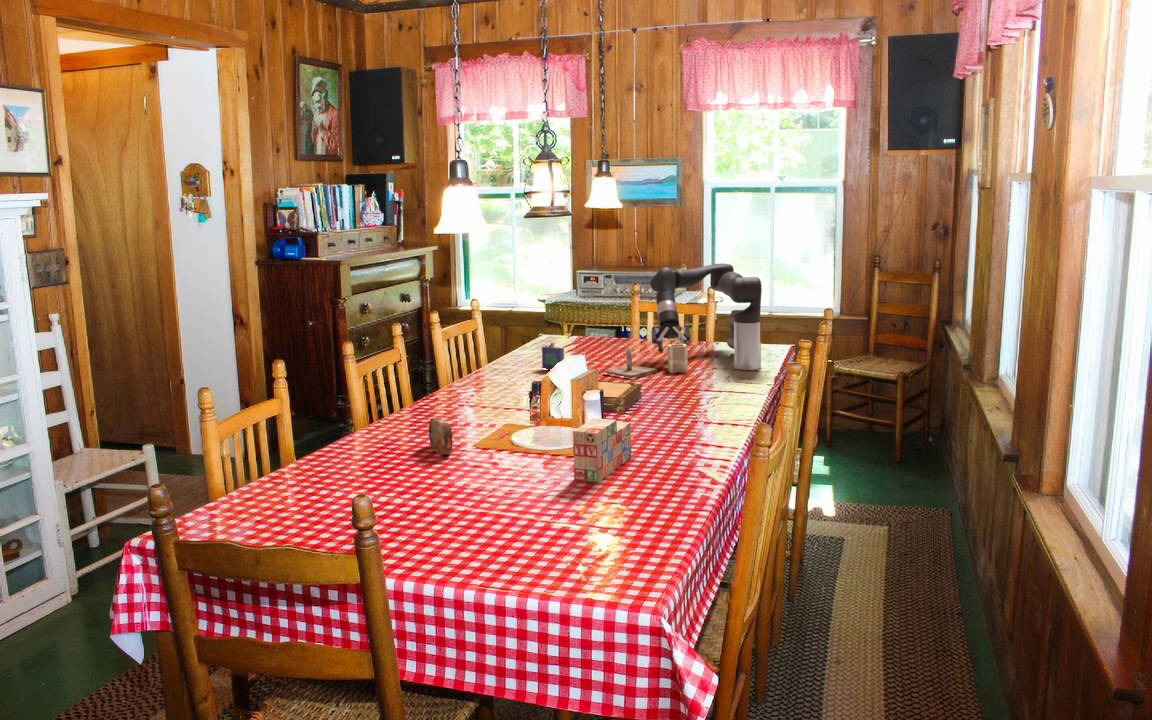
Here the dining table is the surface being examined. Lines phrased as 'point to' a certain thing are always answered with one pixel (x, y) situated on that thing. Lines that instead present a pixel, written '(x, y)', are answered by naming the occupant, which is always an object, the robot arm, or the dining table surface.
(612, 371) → the post base
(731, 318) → the apothecary jar
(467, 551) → the dining table surface
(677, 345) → the tan upright block
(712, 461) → the dining table surface
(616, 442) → the stack of blocks
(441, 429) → the tin
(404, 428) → the dining table surface
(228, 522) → the dining table surface
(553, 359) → the flask
